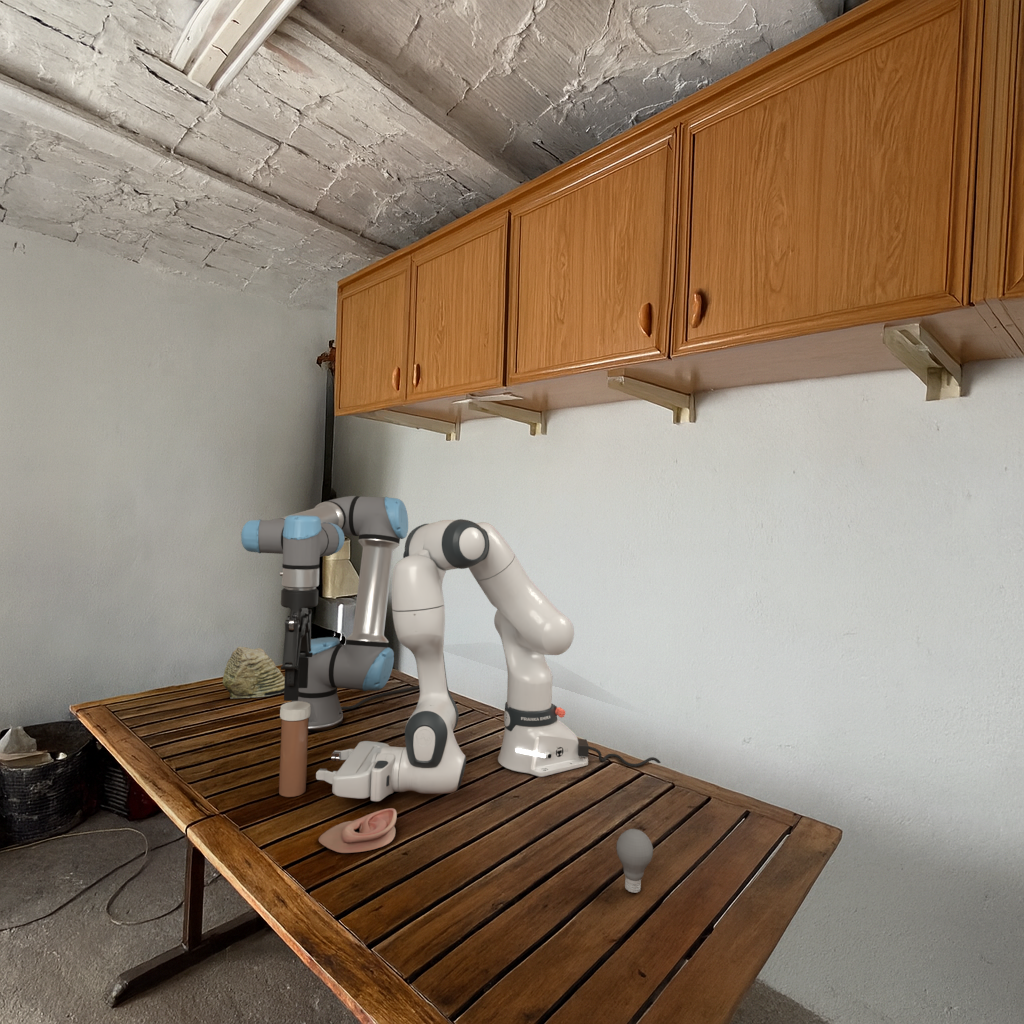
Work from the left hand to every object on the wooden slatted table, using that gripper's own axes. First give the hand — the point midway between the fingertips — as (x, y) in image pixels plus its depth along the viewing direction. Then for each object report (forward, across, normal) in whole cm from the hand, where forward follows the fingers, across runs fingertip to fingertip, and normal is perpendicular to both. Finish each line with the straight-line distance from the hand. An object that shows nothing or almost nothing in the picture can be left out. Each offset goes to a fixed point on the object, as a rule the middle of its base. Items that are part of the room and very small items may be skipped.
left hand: (296, 693), depth 135 cm
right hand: (+15, +1, +7) cm, 16 cm away
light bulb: (+21, +37, +64) cm, 77 cm away
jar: (+21, 0, 0) cm, 21 cm away
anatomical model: (+21, +19, +16) cm, 33 cm away
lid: (+3, 0, 0) cm, 3 cm away
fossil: (+21, -65, -27) cm, 74 cm away
